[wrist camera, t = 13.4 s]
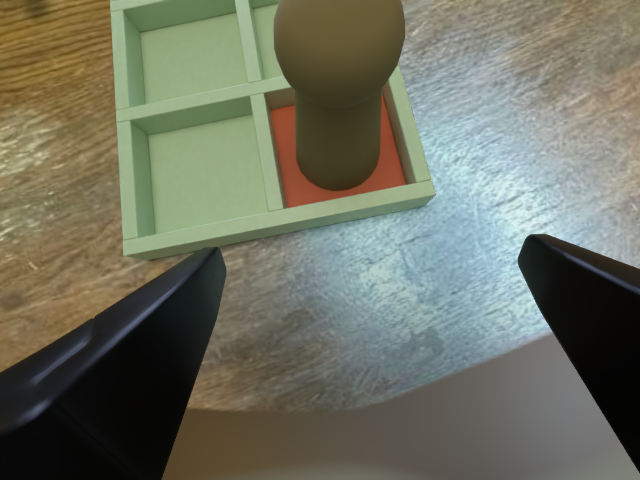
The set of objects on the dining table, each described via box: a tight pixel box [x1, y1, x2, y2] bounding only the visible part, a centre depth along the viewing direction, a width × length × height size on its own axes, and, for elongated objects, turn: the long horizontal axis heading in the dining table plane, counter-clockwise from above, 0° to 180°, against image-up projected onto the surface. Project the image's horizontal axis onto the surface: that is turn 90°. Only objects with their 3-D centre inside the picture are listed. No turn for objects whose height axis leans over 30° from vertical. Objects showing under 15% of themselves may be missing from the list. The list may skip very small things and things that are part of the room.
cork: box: [273, 0, 405, 191], centre depth 15 cm, size 6×6×11 cm
